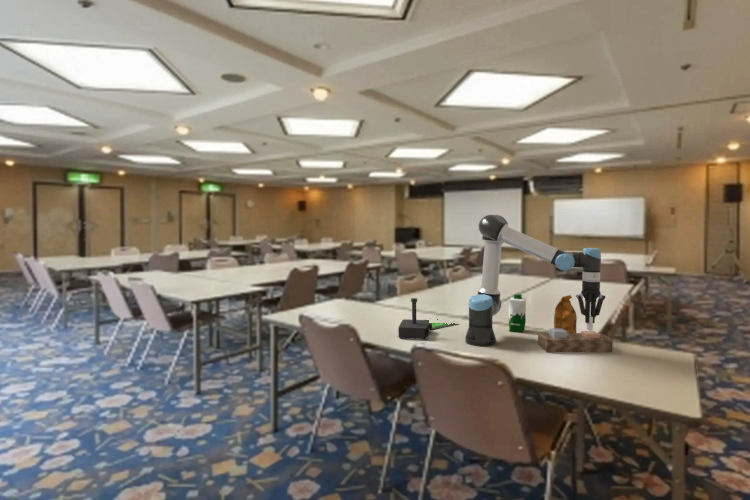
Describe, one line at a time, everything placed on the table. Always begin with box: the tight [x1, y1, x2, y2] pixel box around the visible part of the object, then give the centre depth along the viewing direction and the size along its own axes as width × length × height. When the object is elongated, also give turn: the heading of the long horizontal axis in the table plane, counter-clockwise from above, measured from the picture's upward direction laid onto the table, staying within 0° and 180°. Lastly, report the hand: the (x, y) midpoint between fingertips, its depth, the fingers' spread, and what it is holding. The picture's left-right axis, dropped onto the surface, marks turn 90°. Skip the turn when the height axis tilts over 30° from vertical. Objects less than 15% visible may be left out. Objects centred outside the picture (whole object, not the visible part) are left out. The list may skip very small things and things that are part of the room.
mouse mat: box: [431, 319, 458, 331], centre depth 254 cm, size 27×22×1 cm
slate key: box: [548, 327, 567, 338], centre depth 200 cm, size 6×6×5 cm
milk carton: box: [508, 293, 527, 334], centre depth 234 cm, size 9×9×20 cm
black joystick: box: [397, 297, 433, 340], centre depth 229 cm, size 19×17×20 cm
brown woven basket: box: [537, 332, 614, 353], centre depth 200 cm, size 30×12×6 cm, turn 87°
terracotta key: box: [580, 330, 600, 338], centre depth 200 cm, size 6×6×5 cm
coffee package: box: [553, 294, 578, 333], centre depth 219 cm, size 10×12×22 cm
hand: (589, 329), depth 199 cm, fingers closed
